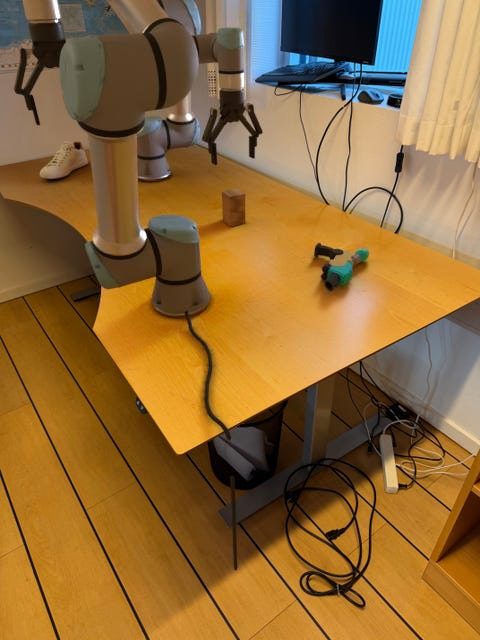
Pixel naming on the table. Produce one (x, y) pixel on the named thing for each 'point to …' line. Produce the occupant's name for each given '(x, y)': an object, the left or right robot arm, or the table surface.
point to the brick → (233, 207)
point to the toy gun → (339, 264)
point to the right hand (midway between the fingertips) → (66, 120)
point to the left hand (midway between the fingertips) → (233, 160)
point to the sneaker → (65, 161)
